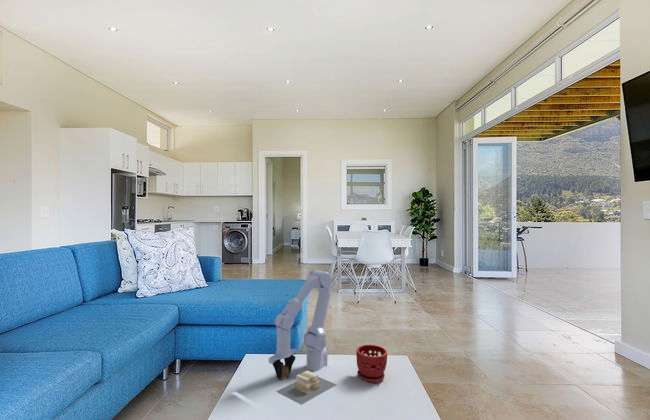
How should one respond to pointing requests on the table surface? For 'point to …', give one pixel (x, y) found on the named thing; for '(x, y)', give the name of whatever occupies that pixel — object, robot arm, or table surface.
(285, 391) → the grey base plate
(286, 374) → the walnut cylinder
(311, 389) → the oak bottom block
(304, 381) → the birch top block
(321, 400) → the table surface
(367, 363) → the plant pot
